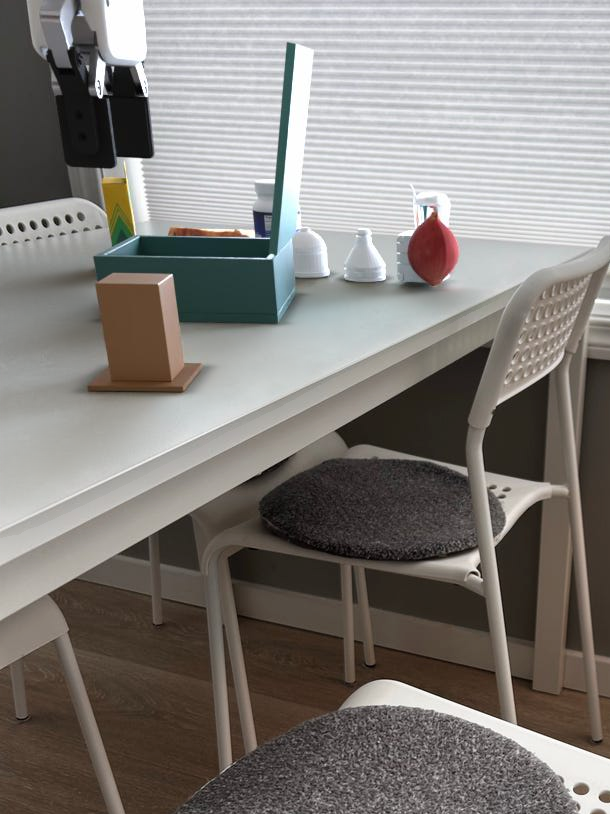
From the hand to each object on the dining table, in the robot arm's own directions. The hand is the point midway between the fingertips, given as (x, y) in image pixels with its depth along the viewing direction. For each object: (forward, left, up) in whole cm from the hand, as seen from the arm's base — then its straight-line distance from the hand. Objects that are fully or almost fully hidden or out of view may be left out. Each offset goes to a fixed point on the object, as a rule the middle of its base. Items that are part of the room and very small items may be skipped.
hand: (113, 162), depth 66 cm
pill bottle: (+4, +51, -15) cm, 53 cm away
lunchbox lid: (+9, +27, 0) cm, 29 cm away
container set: (+14, +46, -15) cm, 51 cm away
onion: (+23, +40, -15) cm, 48 cm away
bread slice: (-5, +64, -15) cm, 66 cm away
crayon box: (-15, +50, -15) cm, 55 cm away
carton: (0, -1, -15) cm, 15 cm away
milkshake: (+22, +51, -15) cm, 58 cm away
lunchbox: (-1, +27, -15) cm, 31 cm away
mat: (0, -1, -15) cm, 15 cm away
